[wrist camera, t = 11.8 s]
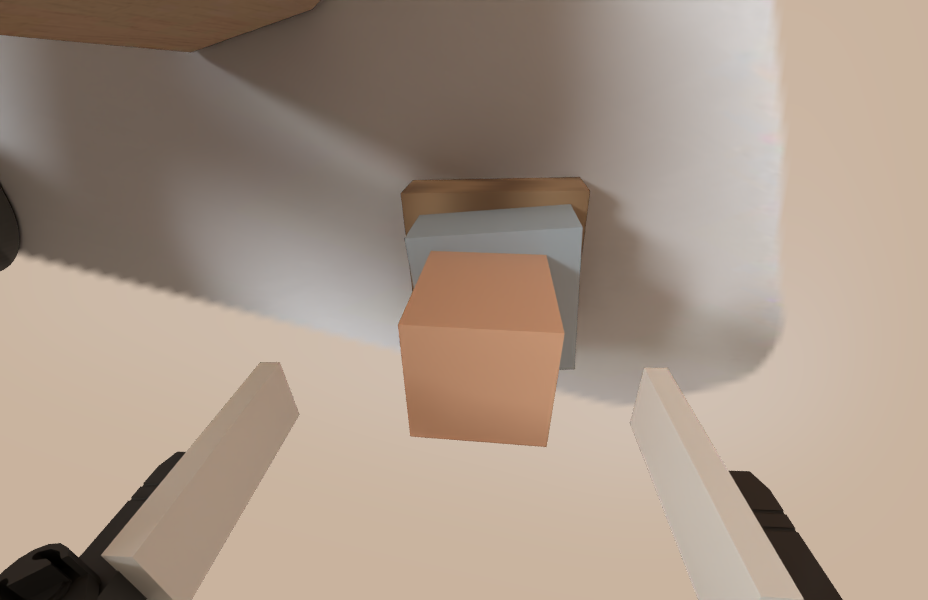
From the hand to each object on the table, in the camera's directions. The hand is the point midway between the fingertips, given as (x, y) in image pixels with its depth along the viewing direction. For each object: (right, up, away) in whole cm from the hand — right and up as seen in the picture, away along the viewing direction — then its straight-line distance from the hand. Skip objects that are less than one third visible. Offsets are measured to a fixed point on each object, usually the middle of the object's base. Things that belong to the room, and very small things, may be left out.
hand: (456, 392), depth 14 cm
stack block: (+2, +3, +7) cm, 8 cm away
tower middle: (+2, +5, +11) cm, 12 cm away
